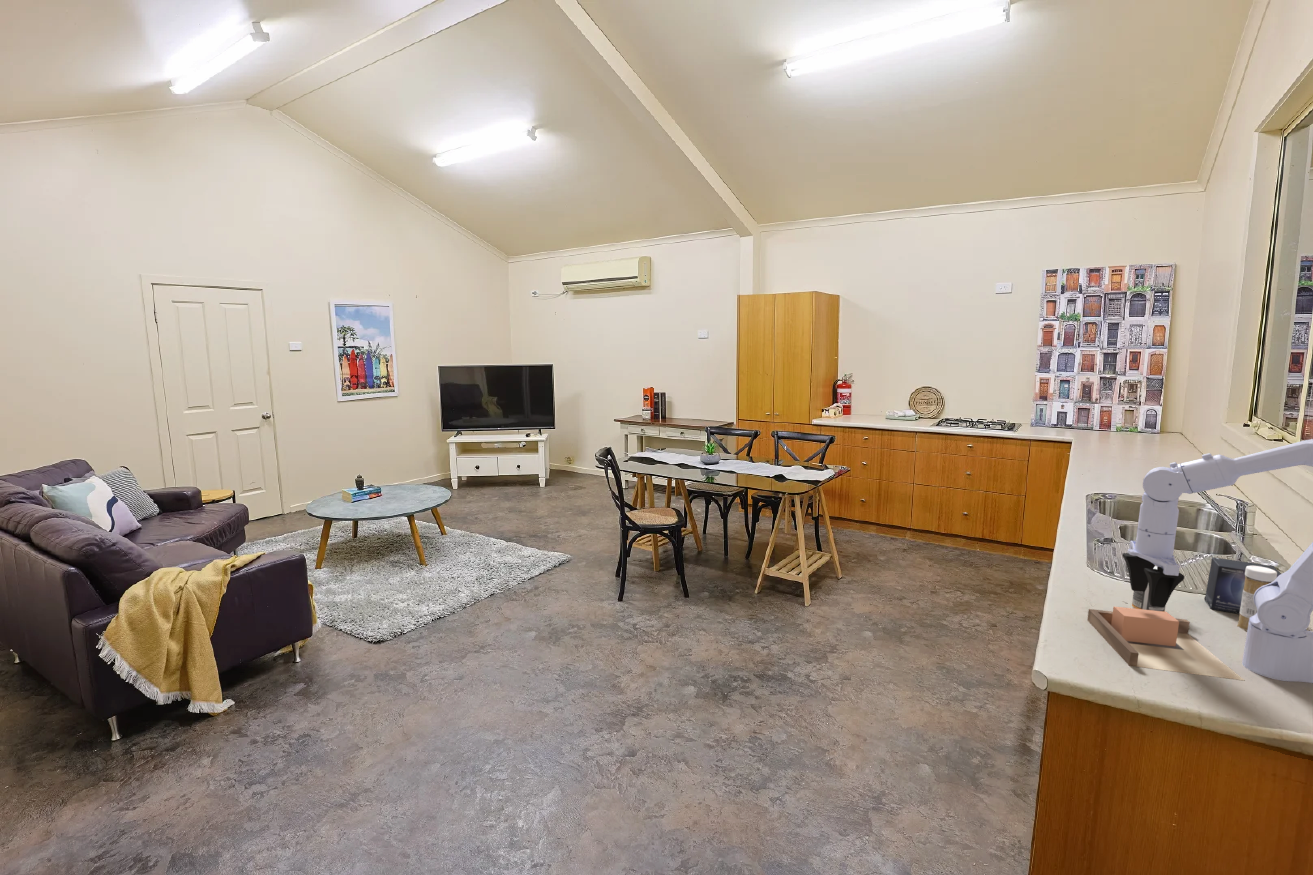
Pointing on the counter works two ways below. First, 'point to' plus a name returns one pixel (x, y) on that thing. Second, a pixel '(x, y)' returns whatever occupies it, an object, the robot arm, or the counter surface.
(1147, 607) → the pill bottle
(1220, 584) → the small box
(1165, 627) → the terracotta bar
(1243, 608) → the sprinkles bottle
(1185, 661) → the tray
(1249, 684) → the counter surface
